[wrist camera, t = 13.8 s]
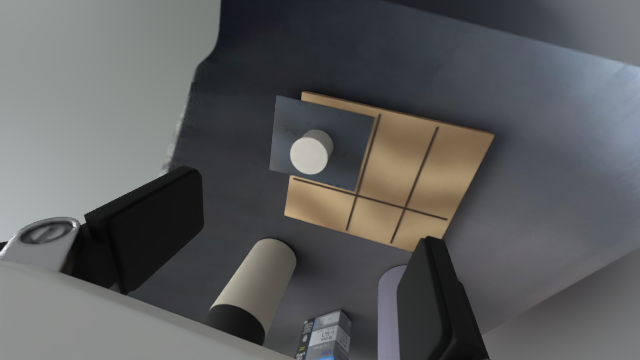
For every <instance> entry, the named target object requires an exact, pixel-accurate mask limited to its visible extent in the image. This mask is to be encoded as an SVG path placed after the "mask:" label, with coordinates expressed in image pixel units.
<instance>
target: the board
mask: <svg viewBox="0 0 640 360" xmlns="http://www.w3.org/2000/svg"><path fill="white" fill-rule="evenodd" d="M310 130H321V131H324V132H325V133H327V134H328V135H329V136H330V138H331V139H332V142H333V146H334V149H333V153H332V155H331V157H330V159H329V161H328V163H327V164H326V166H325V168H324V169H323V170H322V171H320V172H319V173H316V174H305V173H302V172H300V171H299V170H298V169H296V168H295V166H294V165H293V163H292V161H291V158H290V151H291V147H292V145H293V144H294V143H295V142H296V141H297V140H298V139H299V138H300V137H301V136H303V135H304V134H305V133H306V132H308V131H310ZM494 136H495V135H494V134H492V133H490V132H487V131H483V130H478V129H474V128H469V127H465V126H460V125H456V124H452V123H447V122H443V121H438V120H434V119H429V118H425V117H420V116H416V115H411V114H407V113H402V112H398V111H394V110H389V109H385V108H380V107H376V106H371V105H367V104H362V103H358V102H353V101H349V100H344V99H340V98H336V97H331V96H327V95H322V94H318V93H313V92H309V91H304V92H302V97H301V100H297V99H293V98H289V97H284V96H280V95H277V98H276V108H275V118H274V128H273V138H272V148H271V158H270V168H269V169H270V170H274V171H278V172H282V173H285V174H289V175H290V181H289V188H288V195H287V201H286V208H285V216H289V217H292V218H296V219H299V220H303V221H306V222H310V223H313V224H317V225H320V226H323V227H327V228H330V229H334V230H337V231H341V232H344V233H348V234H351V235H355V236H358V237H362V238H365V239H369V240H372V241H376V242H379V243H383V244H386V245H389V246H393V247H396V248H400V249H403V250H407V251H410V252H414V250H415V248H416V246H417V244H418V242H419V240H420V238H425V237H426V236H432V237H435V238H439V239H442V237H443V235H444V233H445V231H446V229H447V227H448V225H449V224H450V222H451V220H452V218H453V216H454V214H455V212H456V210H457V208H458V206H459V204H460V202H461V200H462V198H463V196H464V194H465V193H466V191H467V189H468V187H469V185H470V183H471V181H472V179H473V177H474V175H475V173H476V171H477V169H478V167H479V165H480V164H481V162H482V160H483V158H484V156H485V154H486V152H487V150H488V148H489V146H490V144H491V142H492V140H493V138H494Z"/></svg>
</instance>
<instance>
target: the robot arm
mask: <svg viewBox="0 0 640 360" xmlns="http://www.w3.org/2000/svg"><path fill="white" fill-rule="evenodd" d="M84 217H85V220H86V223H84V224H83V225H80V223H79V221H78V220H76V219H74V218H70V217H55V218H49V219H44V220H41V221H37V222H34V223H32V224H30V225H27V226H25V227H24V228H22V229H20V230H19V231H17V232H16V233H15V234H14V235H13V236H12V238H11V239H10V240H9V241H7V242H2V243H0V360H296V359H294V358H291V357H288V356H286V355H283V354H281V353H278V352H275V351H273V350H270V349H267V348H265V347H262V346H260V345H257V344H254V343H252V342H249V341H246V340H244V339H241V338H238V337H236V336H233V335H230V334H228V333H225V332H222V331H220V330H217V329H214V328H212V327H209V326H206V325H204V324H201V323H198V322H196V321H193V320H190V319H188V318H185V317H182V316H179V315H177V314H174V313H171V312H169V311H166V310H163V309H161V308H158V307H155V306H152V305H150V304H147V303H144V302H142V301H139V300H136V299H133V298H131V297H128V296H126V295H127V294H128V293H129V292H130V291H134V290H136V289H137V288H138V287H140V286H141V285H142V284H143V283H144V282H145V281H146V280H147V279H148V278H149V277H151V276H152V275H153V274H154V273H155V272H156V271H157V270H158V269H159V268H160V267H162V266H163V265H164V264H165V263H166V262H167V261H168V260H169V259H170V258H172V257H173V256H174V255H175V254H176V253H177V252H178V251H179V250H180V249H181V248H183V247H184V246H185V245H186V244H187V243H188V242H189V241H190V240H191V239H193V238H194V237H195V236H196V235H197V234H198V233H199V232H200V231H201V230H202V228H203V226H204V215H203V193H202V176H201V174H199V171H198V170H197V169H194V168H190V167H187V166H181V167H179V168H177V169H175V170H173V171H171V172H169V173H167V174H165V175H163V176H161V177H159V178H157V179H155V180H153V181H151V182H149V183H147V184H145V185H143V186H141V187H139V188H137V189H135V190H133V191H131V192H129V193H127V194H125V195H123V196H121V197H119V198H117V199H115V200H113V201H111V202H109V203H107V204H105V205H103V206H101V207H99V208H97V209H95V210H93V211H91V212H89V213H87V214H85V215H84ZM396 298H397V316H398V335H399V353H400V360H490V359H489V356H488V353H487V350H486V348H485V345H484V342H483V339H482V336H481V334H480V331H479V328H478V325H477V322H476V320H475V317H474V314H473V311H472V309H471V306H470V303H469V300H468V297H467V295H466V292H465V289H464V287H463V285H462V283H461V282H460V281H458V279H457V276H456V273H455V270H454V267H453V264H452V261H451V258H450V256H449V253H448V250H447V247H446V244H445V241H444V240H442V239H439V238H435V237H432V236H426V237H425V238H420V240H419V242H418V244H417V246H416V248H415V250H414V252H413V254H412V256H411V259H410V261H409V263H408V265H407V267H406V269H405V271H404V273H403V275H402V278H401V280H400V282H399V284H398V287H397V292H396Z"/></svg>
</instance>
